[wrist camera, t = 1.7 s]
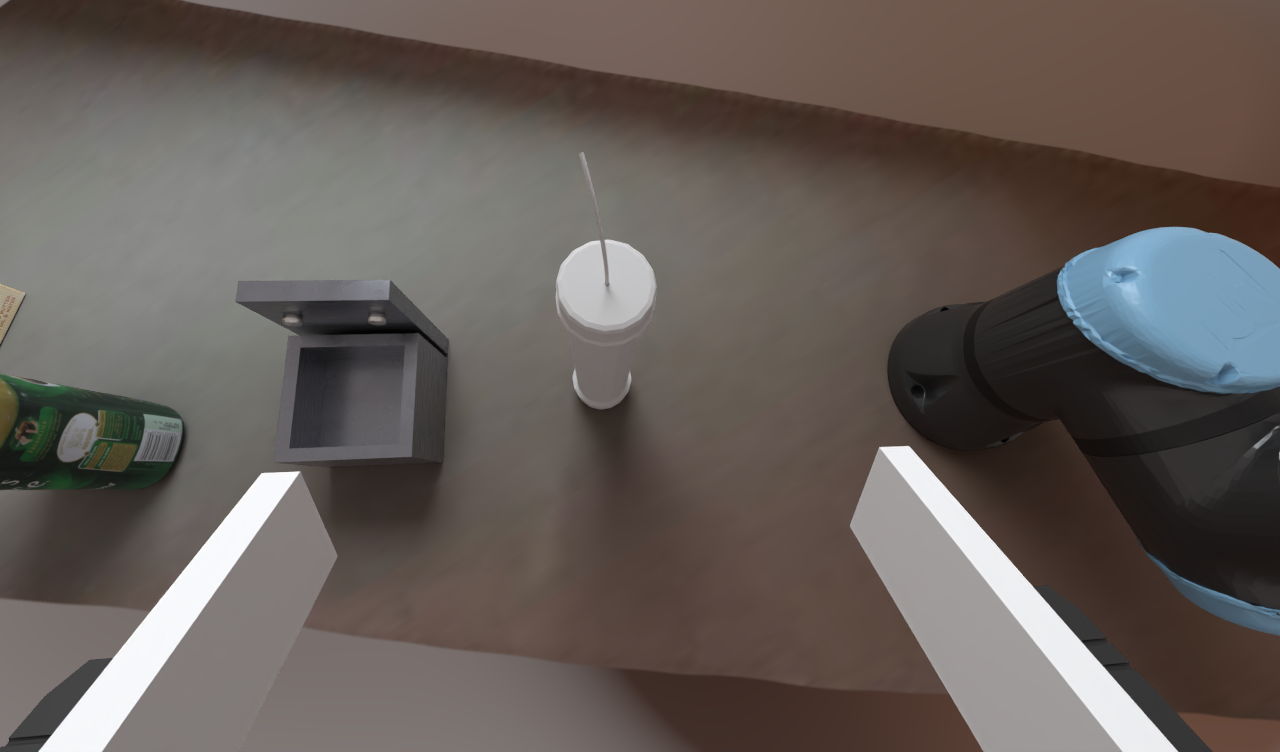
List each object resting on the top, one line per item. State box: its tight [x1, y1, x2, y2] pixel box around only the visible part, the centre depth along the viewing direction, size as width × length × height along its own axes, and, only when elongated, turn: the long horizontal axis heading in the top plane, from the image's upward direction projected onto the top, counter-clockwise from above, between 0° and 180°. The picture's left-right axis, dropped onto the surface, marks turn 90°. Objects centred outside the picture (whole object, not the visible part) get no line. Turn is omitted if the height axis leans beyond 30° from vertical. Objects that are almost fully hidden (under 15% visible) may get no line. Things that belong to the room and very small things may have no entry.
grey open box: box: [235, 280, 448, 467], centre depth 39 cm, size 12×10×14 cm
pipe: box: [556, 152, 657, 410], centre depth 34 cm, size 6×6×30 cm
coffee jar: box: [0, 374, 184, 490], centre depth 34 cm, size 10×8×19 cm
